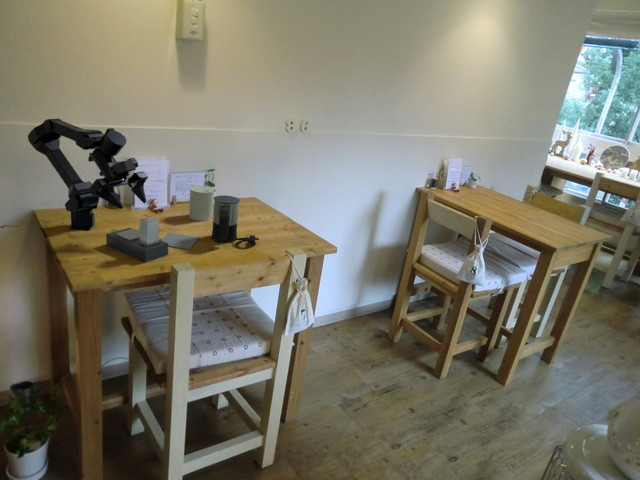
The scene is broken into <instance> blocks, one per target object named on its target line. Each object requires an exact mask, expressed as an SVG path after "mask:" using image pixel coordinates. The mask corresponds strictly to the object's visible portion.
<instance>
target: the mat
mask: <svg viewBox="0 0 640 480" xmlns="http://www.w3.org/2000/svg"><path fill="white" fill-rule="evenodd" d="M160 240H161V241H164V242H166V243H168V248H176V249H183V250H191V248H192V247H194V245H196V243H197V242H198V241H199V240H200V237H199V236H193V235H185V234H179V233H173V232H168V233H166V235H165V236H164V237H163V238H161V239H160Z"/></svg>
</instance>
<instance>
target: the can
mask: <svg viewBox="0 0 640 480" xmlns="http://www.w3.org/2000/svg"><path fill="white" fill-rule="evenodd" d="M214 193H215V189H214V188H212V187H209V186H204V185H195V186H191V187H190V188H189V211H188V218H189V219H190V220H192V221H199V222H207V221H211V220H213V214H214Z"/></svg>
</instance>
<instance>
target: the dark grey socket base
mask: <svg viewBox="0 0 640 480" xmlns="http://www.w3.org/2000/svg"><path fill="white" fill-rule="evenodd" d="M105 237H106V238H105V242H106V247H109V248H111V249H113V250H116V251H118V252H120V253H122V254H125V255H127V256H129V257H132V258H134V259H137V260H139V261H141V262H143V263H145V264H146V263H148V262H152V261H155V260H157V259H161V258H163V257H166V256H168V255H169V246H168V243H166V242H164V241H161V240H162V239H159V244H158V245H155V246H151V247H148V248H147V247H144V246H142V245H139V230H136V229H134V228H131V227H127V228H124V229H120V230H115V231H112V232H108V233H106V234H105Z"/></svg>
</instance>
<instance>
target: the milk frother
mask: <svg viewBox="0 0 640 480" xmlns="http://www.w3.org/2000/svg"><path fill="white" fill-rule="evenodd" d="M240 201H241V200H240V198H238V197H236V196H234V195H233V196H232V195H225V194H224V195H216V196H213V213H212V216H213V218H212V231H211V236H210V237H211V239H212V240H214V241H215V242H220V243H232V242H234V241H249V242H250V243H256V241H260V238H259V237H256V235H254V234H252V235H251V234H250V235H249V237H246V236H245V237H238V236H237V235H238V234H237V233H238V219H239V217H238V216H239V204H240Z"/></svg>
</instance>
